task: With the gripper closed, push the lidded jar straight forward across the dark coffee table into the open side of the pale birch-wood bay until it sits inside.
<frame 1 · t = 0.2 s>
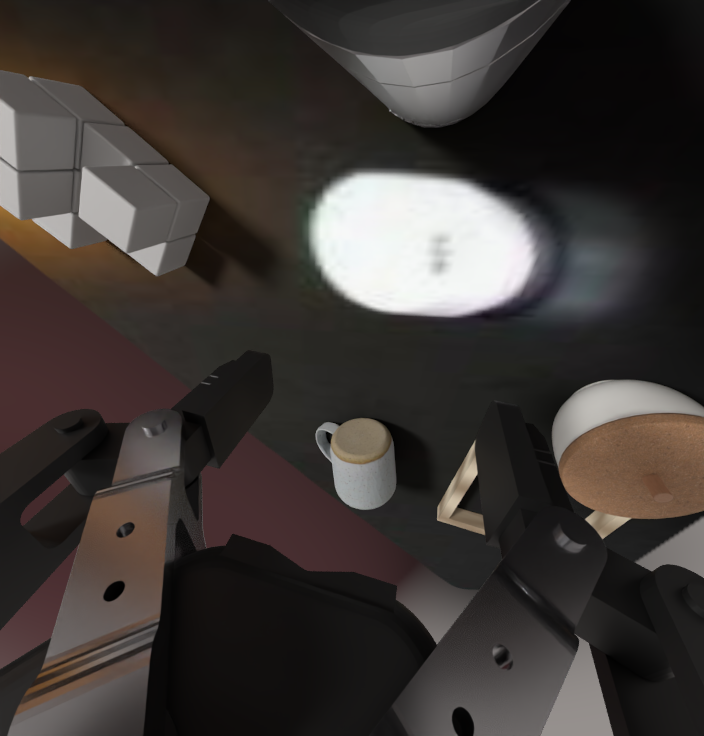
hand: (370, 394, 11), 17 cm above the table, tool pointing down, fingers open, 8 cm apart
lidded jar: (603, 404, 28), on the table
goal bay: (529, 491, 36), on the table
ceramic mug: (360, 436, 39), on the table
puzzle cube: (138, 206, 28), on the table
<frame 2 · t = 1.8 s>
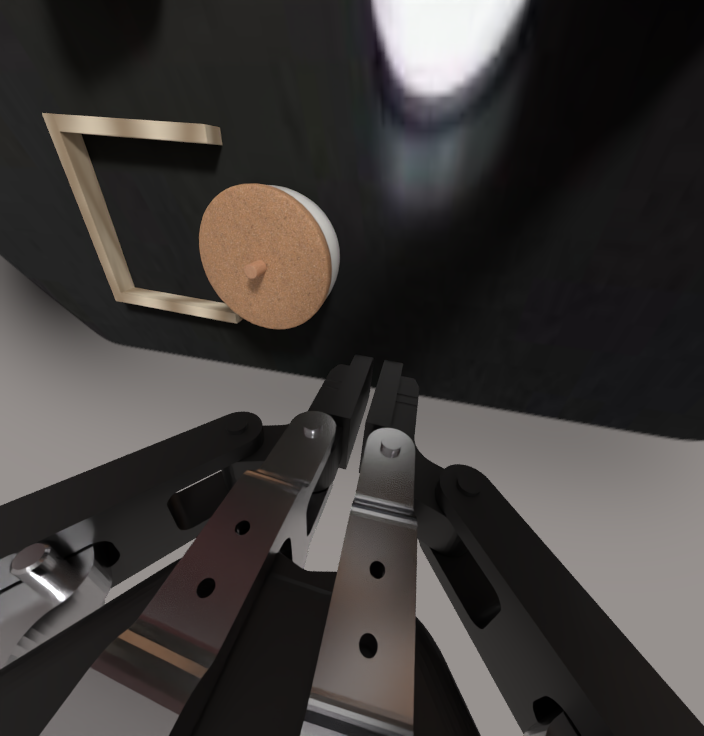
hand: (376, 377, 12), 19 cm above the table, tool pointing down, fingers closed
lidded jar: (301, 245, 29), on the table
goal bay: (170, 228, 31), on the table
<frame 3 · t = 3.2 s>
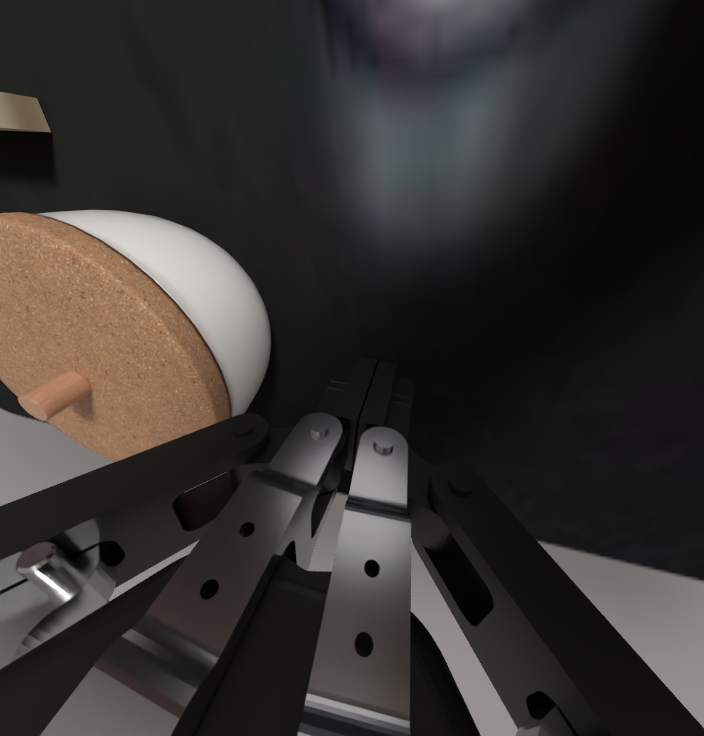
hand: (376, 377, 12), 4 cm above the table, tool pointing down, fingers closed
lidded jar: (218, 301, 17), on the table
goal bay: (23, 272, 20), on the table
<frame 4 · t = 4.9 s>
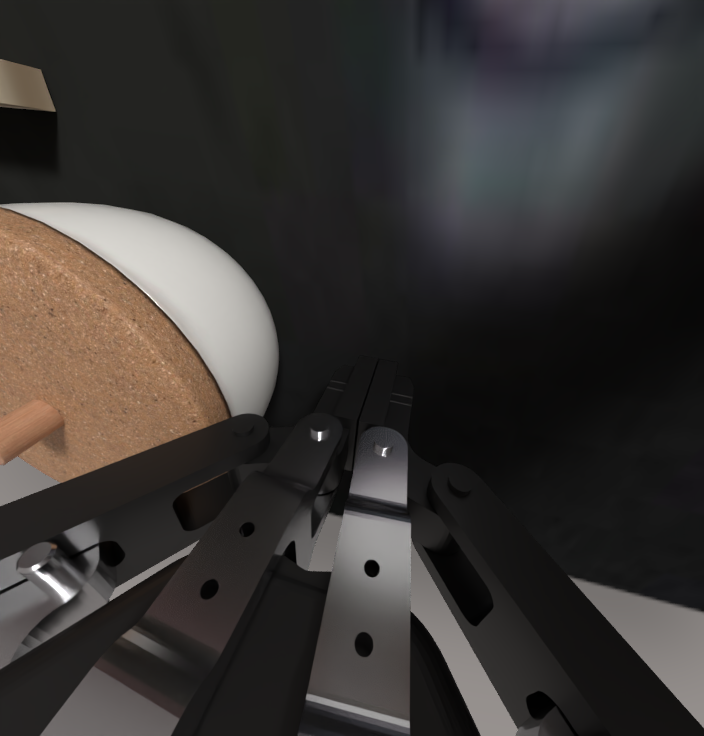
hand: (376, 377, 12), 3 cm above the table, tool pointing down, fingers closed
lidded jar: (216, 310, 15), on the table, touching hand
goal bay: (11, 272, 17), on the table
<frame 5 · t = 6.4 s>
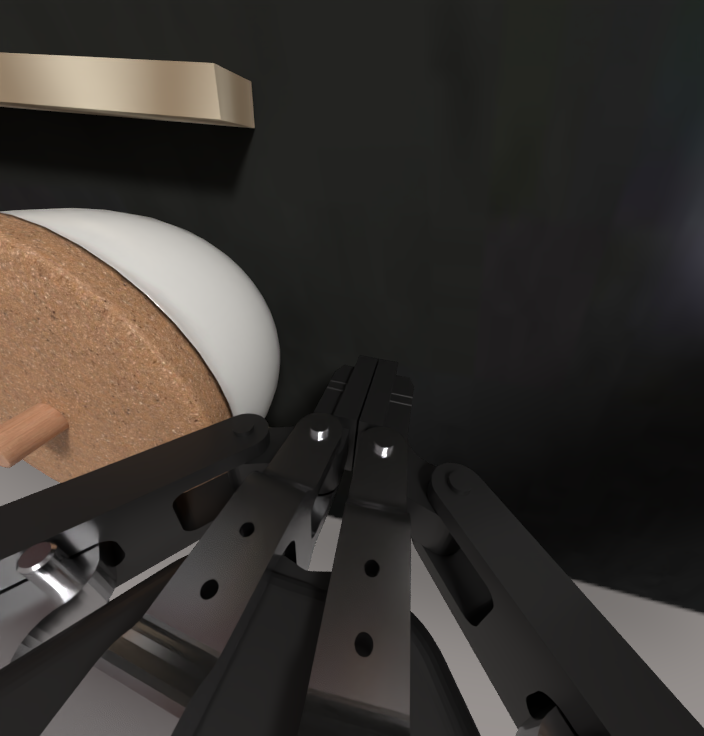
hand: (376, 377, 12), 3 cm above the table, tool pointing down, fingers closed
lidded jar: (218, 312, 15), on the table, touching hand
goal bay: (139, 297, 16), on the table
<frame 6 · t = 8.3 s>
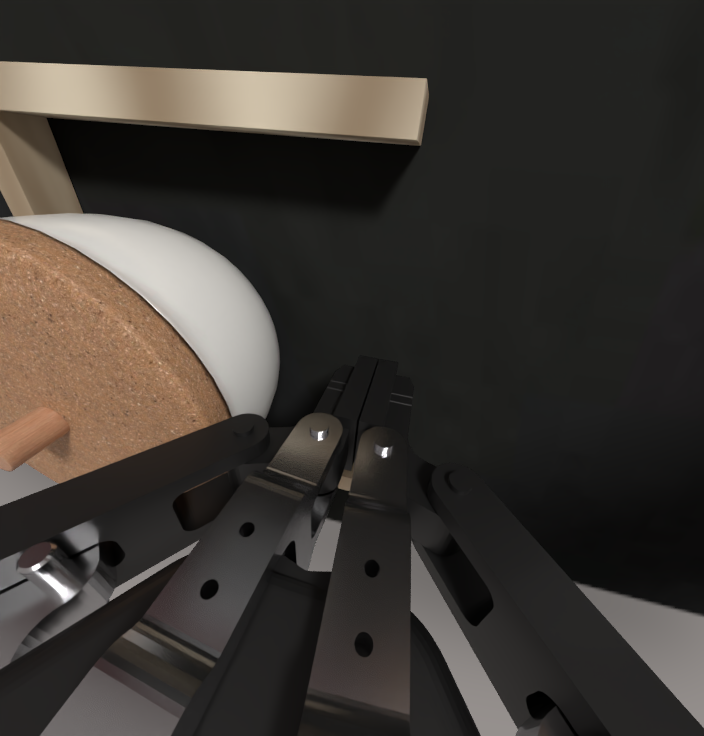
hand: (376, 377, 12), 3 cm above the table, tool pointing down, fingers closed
lidded jar: (218, 315, 15), on the table, touching hand
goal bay: (240, 319, 15), on the table
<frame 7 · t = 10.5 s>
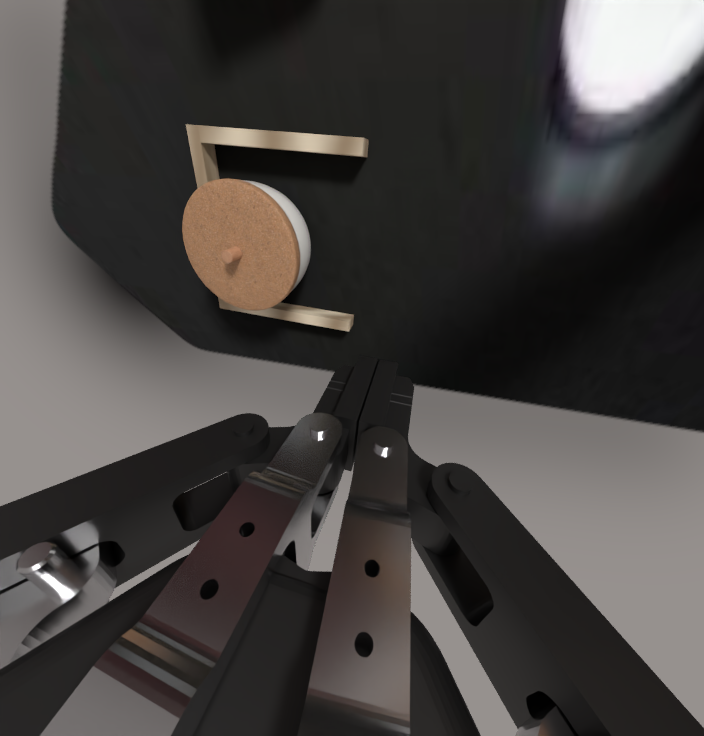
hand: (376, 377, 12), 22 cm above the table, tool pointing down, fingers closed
lidded jar: (278, 236, 32), on the table
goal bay: (290, 237, 31), on the table
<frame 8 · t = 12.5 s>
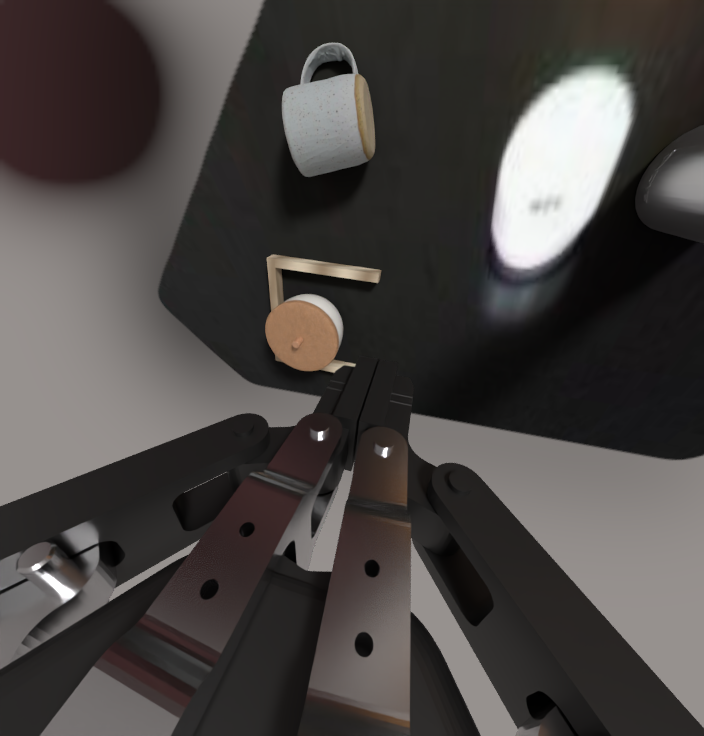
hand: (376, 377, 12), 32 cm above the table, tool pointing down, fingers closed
lidded jar: (319, 317, 48), on the table
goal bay: (327, 318, 47), on the table
ceramic mug: (337, 117, 34), on the table
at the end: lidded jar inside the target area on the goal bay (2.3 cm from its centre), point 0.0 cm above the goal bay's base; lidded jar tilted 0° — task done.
